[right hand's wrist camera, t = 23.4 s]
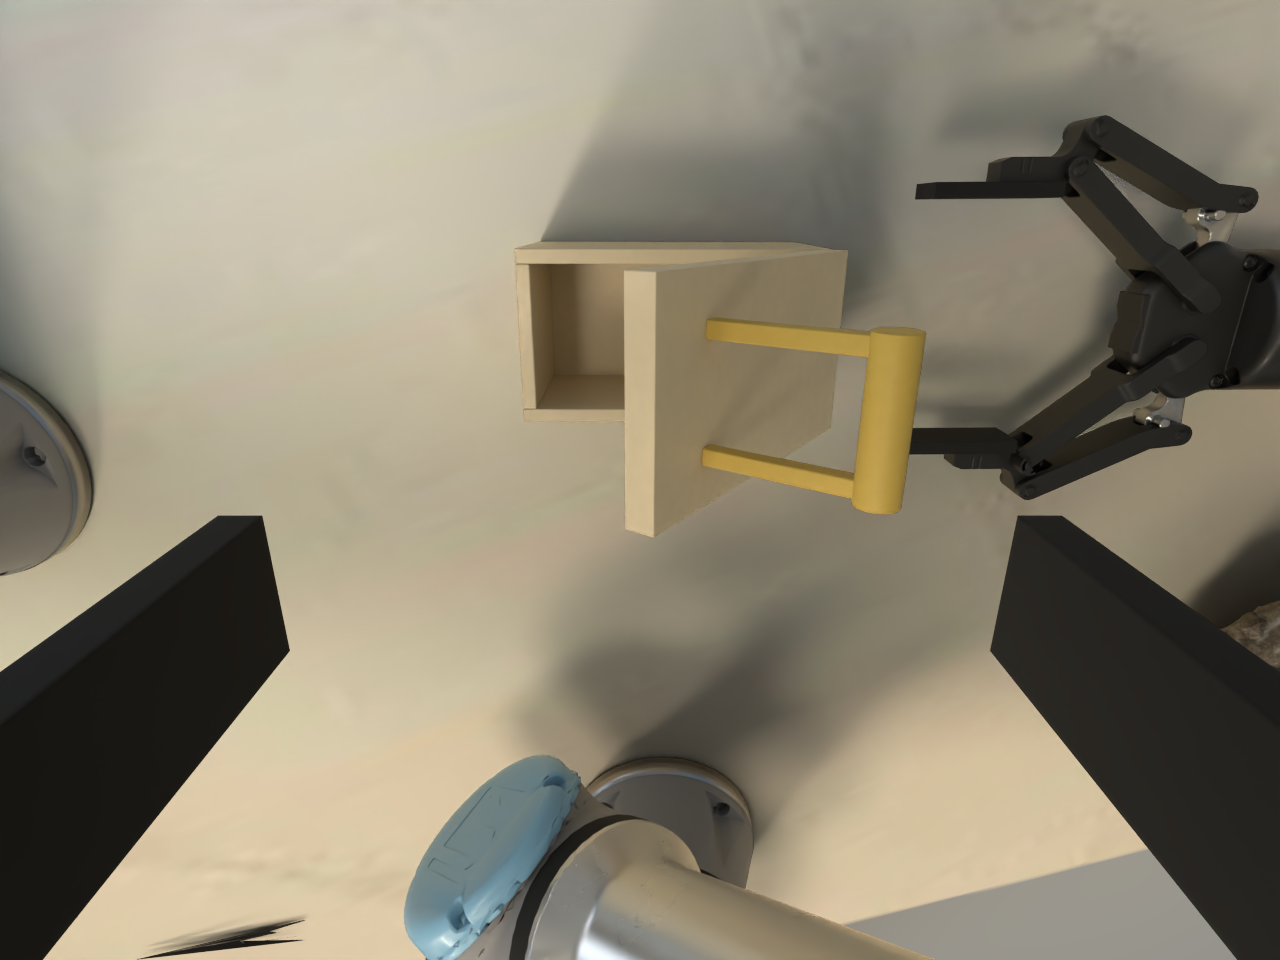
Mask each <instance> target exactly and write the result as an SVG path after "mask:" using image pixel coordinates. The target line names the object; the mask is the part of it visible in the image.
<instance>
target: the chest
mask: <svg viewBox="0 0 1280 960" xmlns="http://www.w3.org/2000/svg"><path fill="white" fill-rule="evenodd" d="M815 250H832V249H828V248H823V247H817V246H812V245H807V244H802V243H796V242H537V243H533V244H529V245H526V246H522V247H519V248H515V249H514V256H515V263H516V264H515V272H516V289H517V307H518V324H519V341H520V359H521V376H522V393H523V408H524V410H523V412H524V422H625V374H624V270H627V269H637V268H647V267H657V266H667V265H677V264H687V263H696V262H706V261H716V260H726V259H736V258H746V257H756V256H766V255H775V254H785V253H795V252H805V251H815Z"/></svg>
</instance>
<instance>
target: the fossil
mask: <svg viewBox="0 0 1280 960" xmlns="http://www.w3.org/2000/svg"><path fill="white" fill-rule="evenodd" d="M1219 629H1220V630H1222V631H1223V632H1225V633H1226V634H1227V635H1229V636H1230V637H1232V638H1233V639H1234V640H1236V641H1237V642H1239V643H1240V644H1241V645H1243V646H1244V647H1246V648H1247V649H1248V650H1250V651H1251V652H1252V653H1254V654H1255V655H1257V656H1258V657H1259V658H1261V659H1262V660H1264V661H1265V662H1266V663H1268V664H1269V665H1272V666H1274V667H1276V668H1278V669H1280V600H1279V601H1275V602H1271V603H1268V604H1266V605H1264V606H1258V607H1257V608H1256V609H1255V610H1254V611H1252V612H1247V613H1246V614H1244V615H1242V616H1241V617H1240V619H1239V620H1237V621H1236V622H1234V623H1232V624H1231V625H1229V626H1227V627H1225V628H1219Z"/></svg>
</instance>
